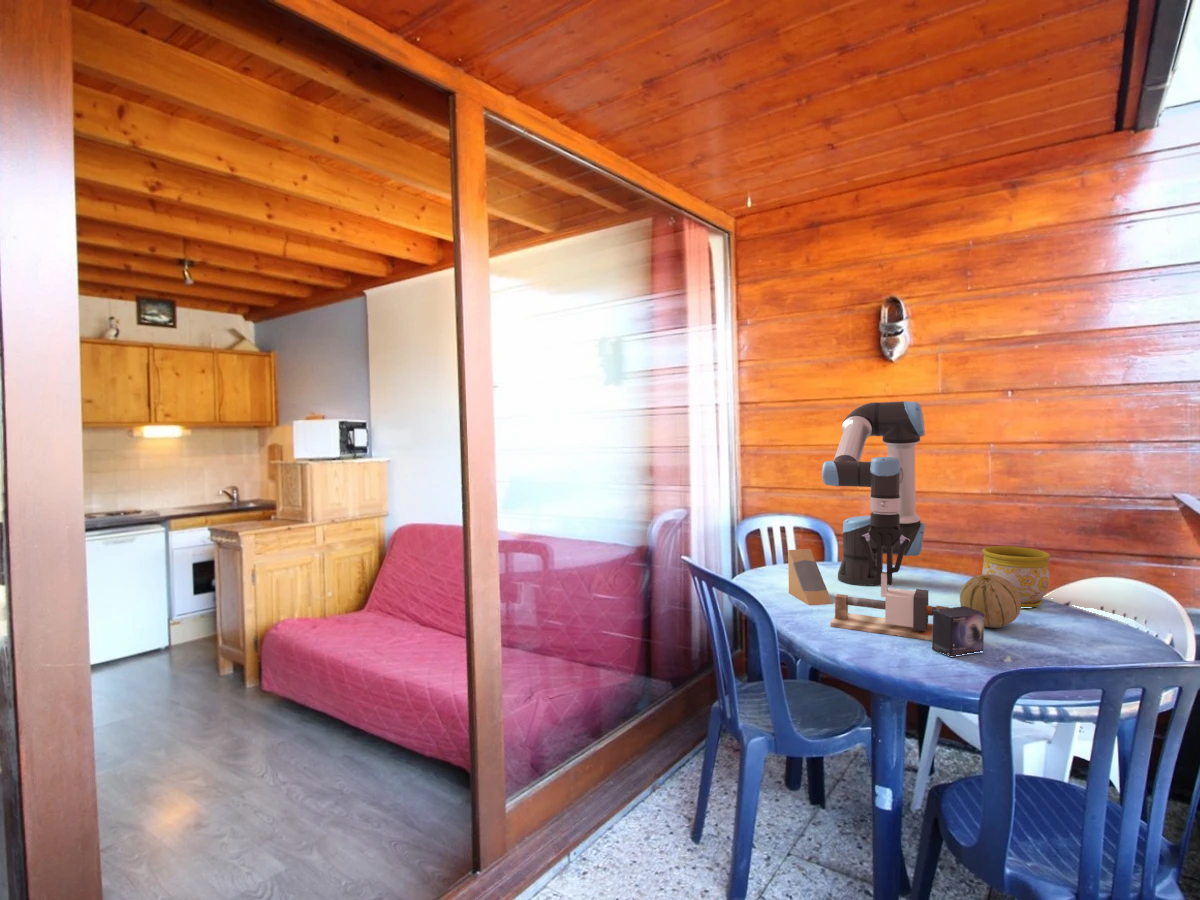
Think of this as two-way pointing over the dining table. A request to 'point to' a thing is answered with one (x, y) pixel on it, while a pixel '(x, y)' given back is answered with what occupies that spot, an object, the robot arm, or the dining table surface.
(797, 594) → the sandwich container
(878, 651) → the dining table surface
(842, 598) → the rail
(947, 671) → the dining table surface
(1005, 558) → the flowerpot
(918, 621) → the ring
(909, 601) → the sleeve
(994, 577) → the cantaloupe
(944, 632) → the small box
